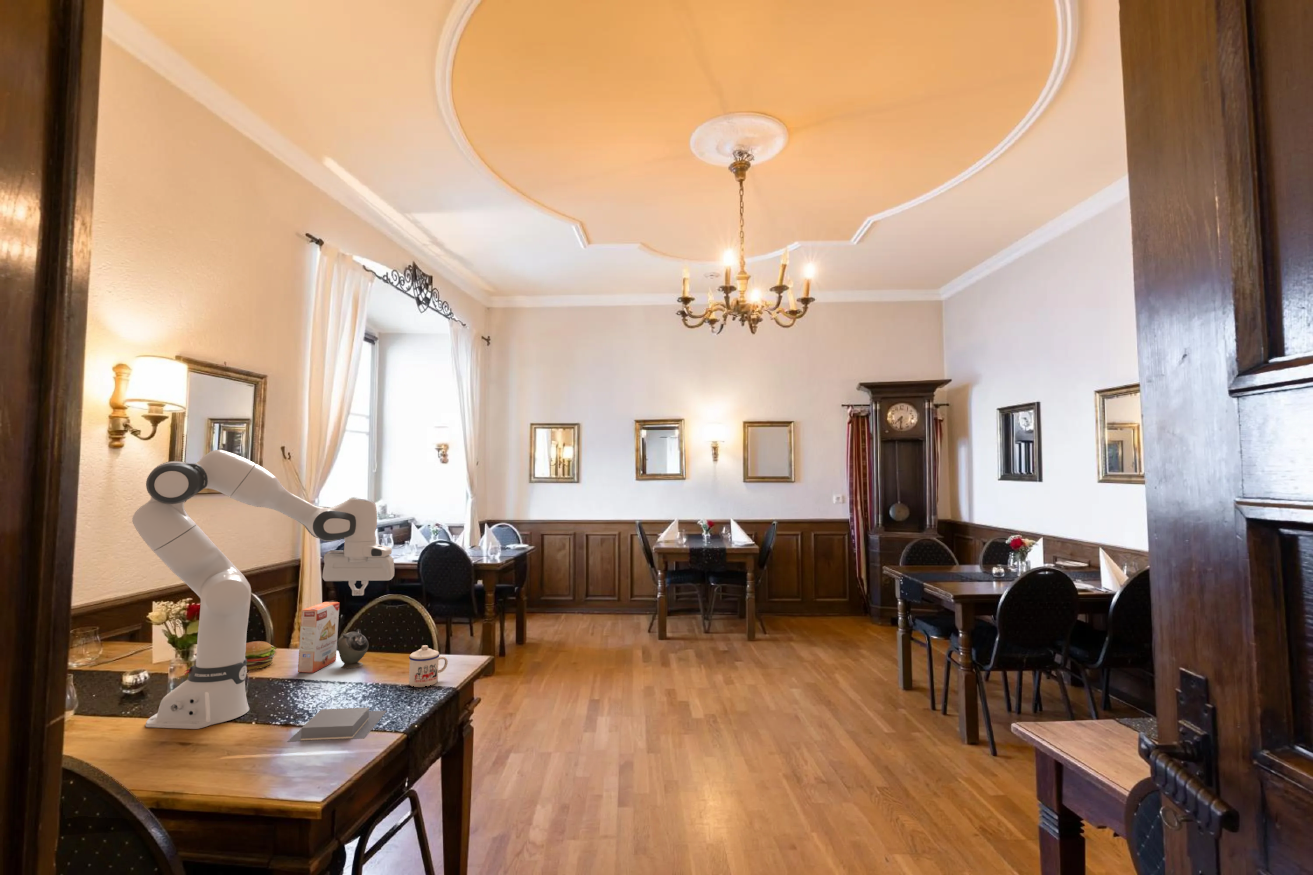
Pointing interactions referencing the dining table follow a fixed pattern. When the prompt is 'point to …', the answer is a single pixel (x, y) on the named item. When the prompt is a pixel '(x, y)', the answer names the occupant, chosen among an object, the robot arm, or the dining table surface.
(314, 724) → the glazed tile
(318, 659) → the cracker box
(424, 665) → the teacup with lid
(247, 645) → the food
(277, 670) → the dining table surface
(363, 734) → the felt mat
